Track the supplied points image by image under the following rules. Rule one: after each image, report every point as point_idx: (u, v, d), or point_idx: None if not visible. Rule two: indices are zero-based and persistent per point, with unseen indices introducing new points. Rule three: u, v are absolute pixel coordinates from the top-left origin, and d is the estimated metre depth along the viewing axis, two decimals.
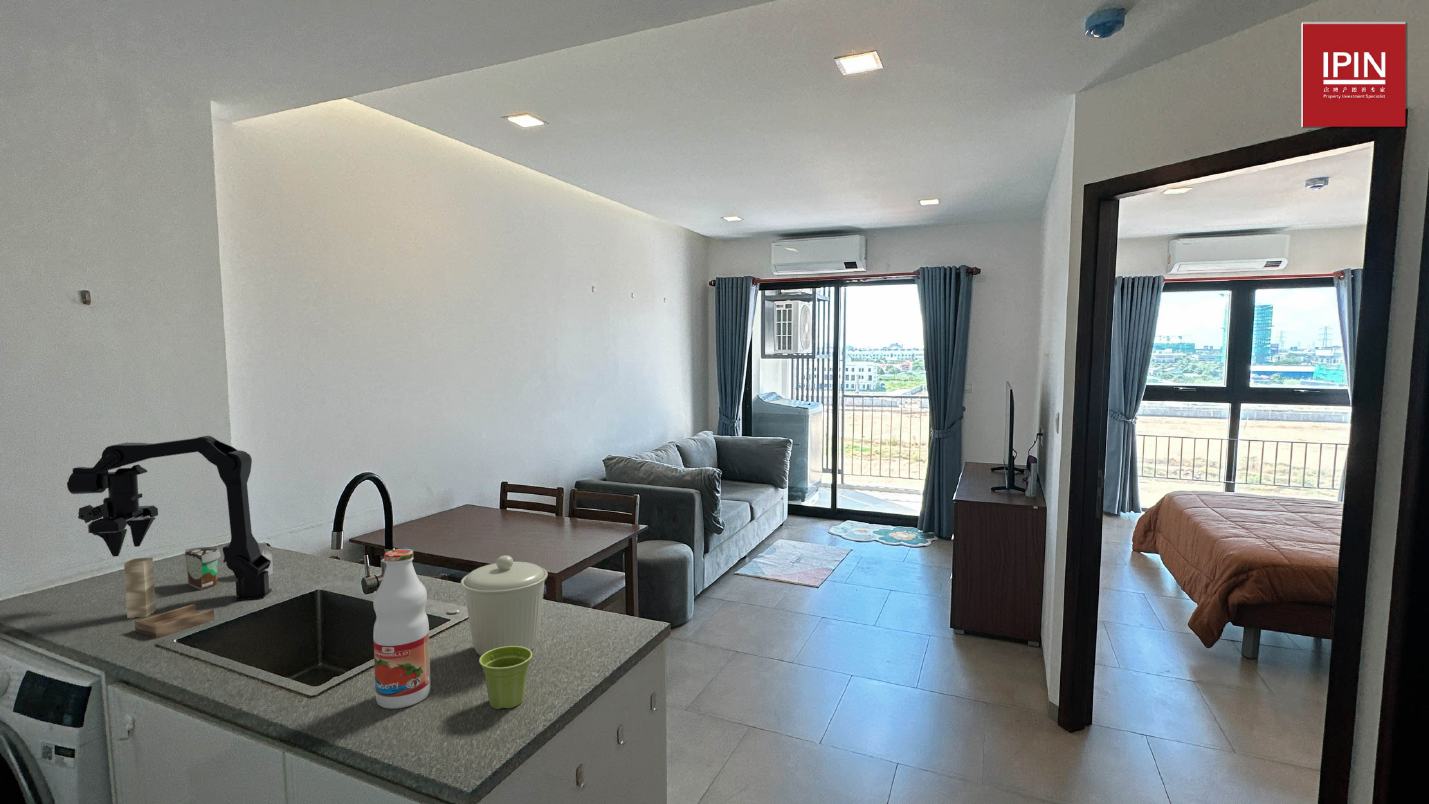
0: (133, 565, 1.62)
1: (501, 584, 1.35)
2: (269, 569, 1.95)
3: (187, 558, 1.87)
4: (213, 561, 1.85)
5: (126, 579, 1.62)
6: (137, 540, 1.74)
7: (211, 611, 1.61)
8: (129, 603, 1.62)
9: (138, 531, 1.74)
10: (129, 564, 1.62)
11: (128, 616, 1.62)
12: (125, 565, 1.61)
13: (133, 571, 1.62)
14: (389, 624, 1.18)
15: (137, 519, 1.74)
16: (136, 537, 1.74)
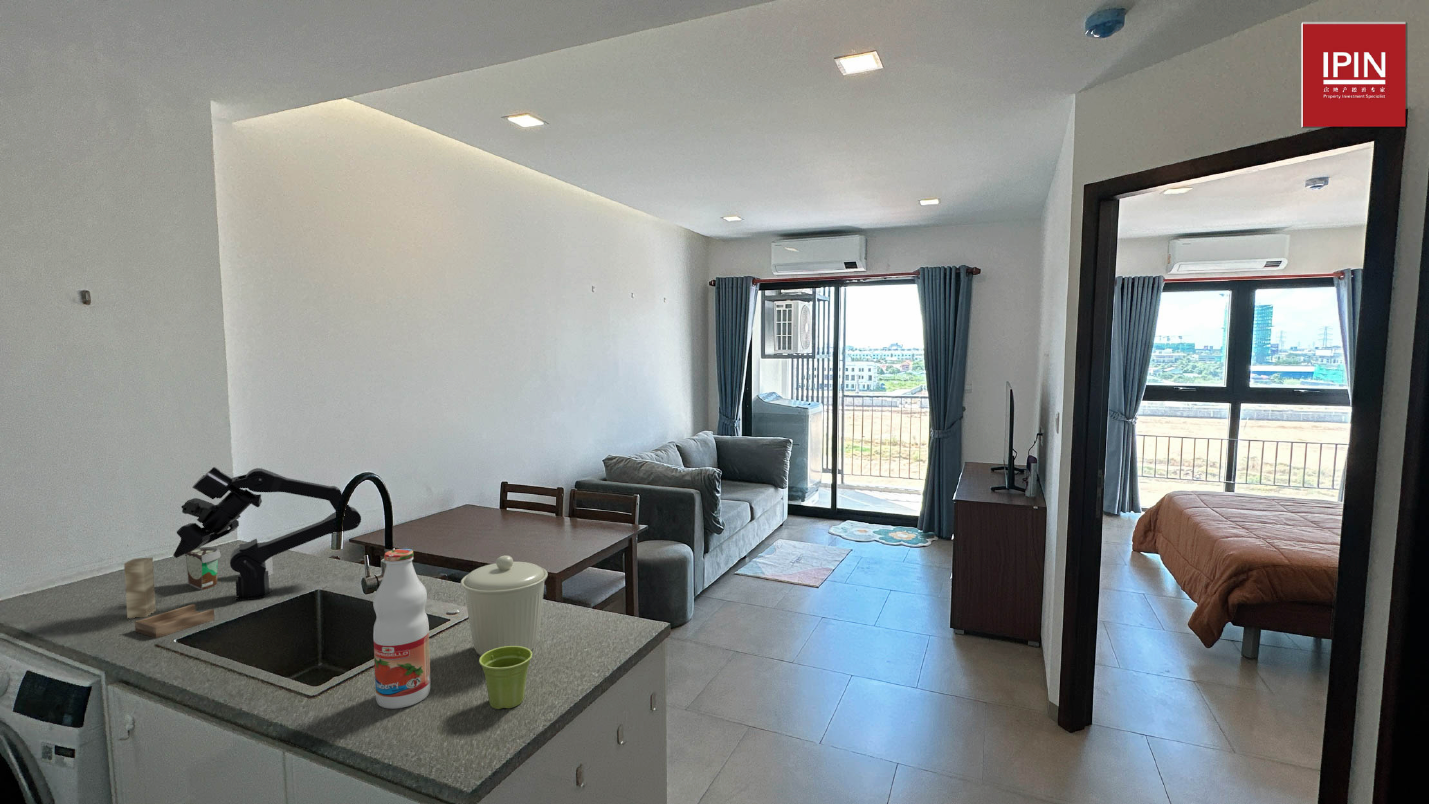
0: (133, 565, 1.62)
1: (501, 584, 1.35)
2: (269, 569, 1.95)
3: (187, 558, 1.87)
4: (213, 561, 1.85)
5: (126, 579, 1.62)
6: None
7: (211, 611, 1.61)
8: (129, 603, 1.62)
9: None
10: (129, 564, 1.62)
11: (128, 616, 1.62)
12: (125, 565, 1.61)
13: (133, 571, 1.62)
14: (389, 624, 1.18)
15: None
16: None
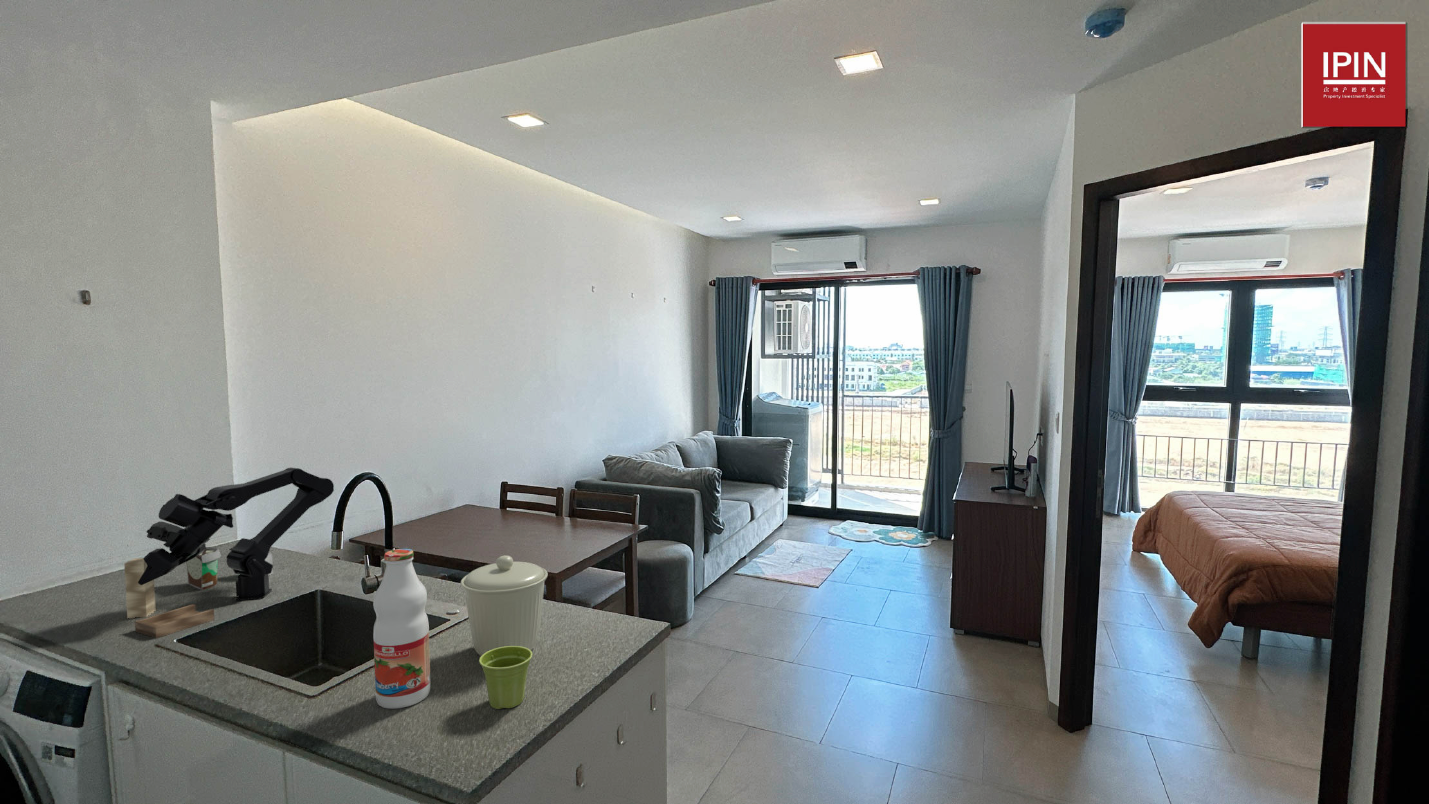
0: (133, 565, 1.62)
1: (501, 584, 1.35)
2: None
3: None
4: (213, 561, 1.85)
5: (126, 579, 1.62)
6: None
7: (211, 611, 1.61)
8: (129, 603, 1.62)
9: None
10: (129, 564, 1.62)
11: (128, 616, 1.62)
12: (125, 565, 1.61)
13: (133, 571, 1.62)
14: (389, 624, 1.18)
15: None
16: None
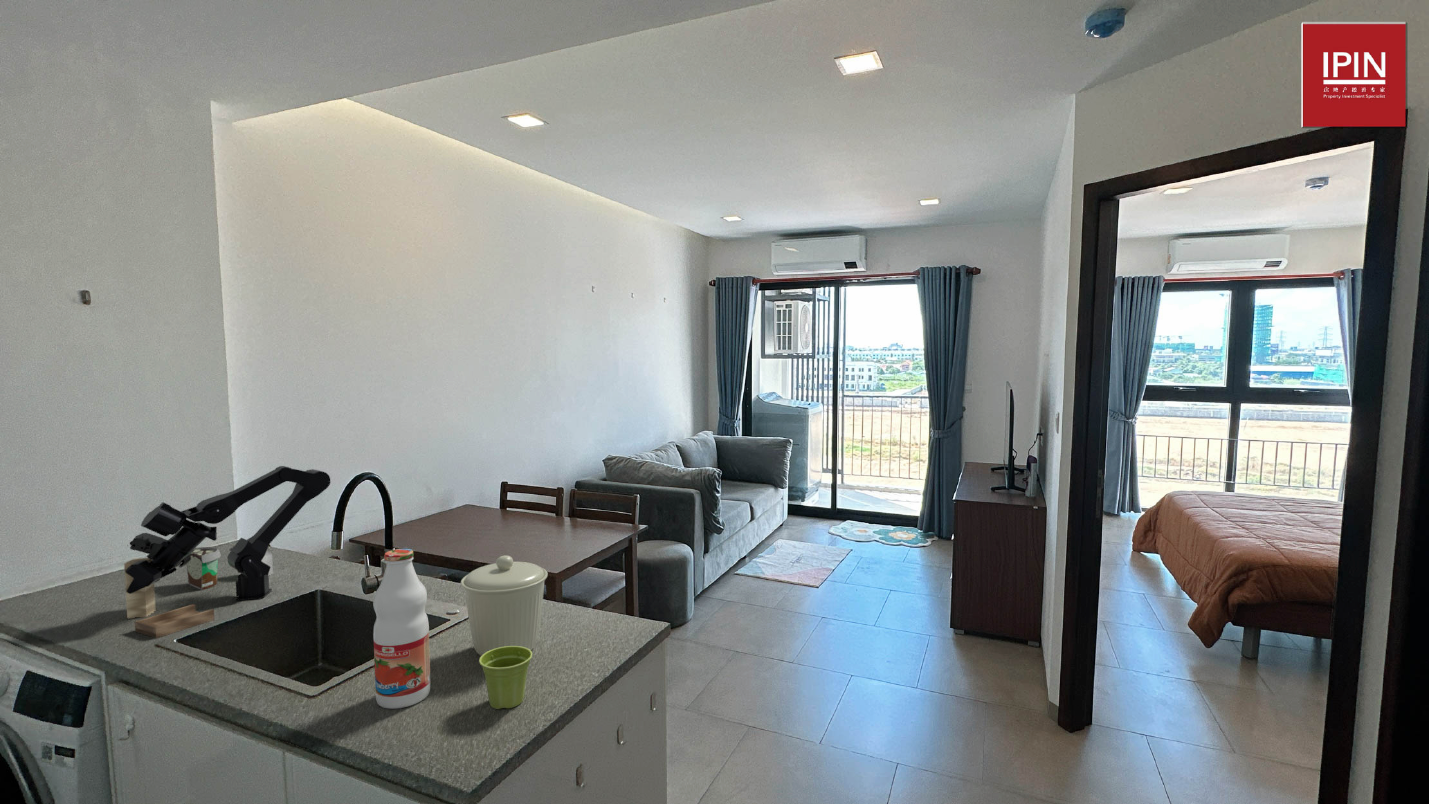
0: None
1: (501, 584, 1.35)
2: None
3: None
4: (213, 561, 1.85)
5: (126, 579, 1.62)
6: None
7: (211, 611, 1.61)
8: (129, 603, 1.62)
9: None
10: (129, 564, 1.62)
11: (128, 616, 1.62)
12: (125, 565, 1.61)
13: None
14: (389, 624, 1.18)
15: None
16: None
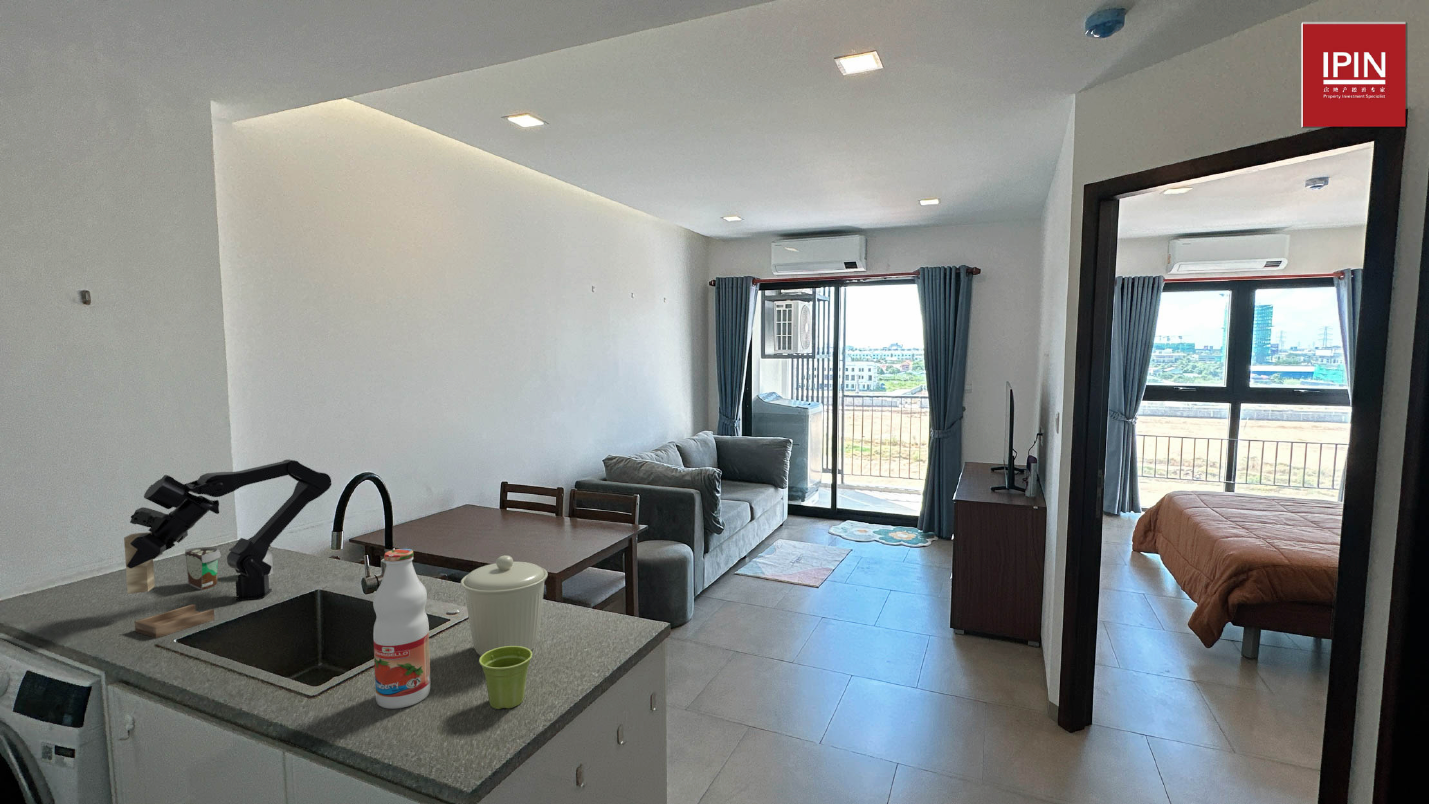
0: None
1: (501, 584, 1.35)
2: None
3: (187, 558, 1.87)
4: (213, 561, 1.85)
5: (126, 554, 1.60)
6: None
7: (211, 611, 1.61)
8: (129, 578, 1.60)
9: None
10: (129, 538, 1.60)
11: (128, 591, 1.60)
12: (125, 539, 1.59)
13: None
14: (389, 624, 1.18)
15: None
16: None
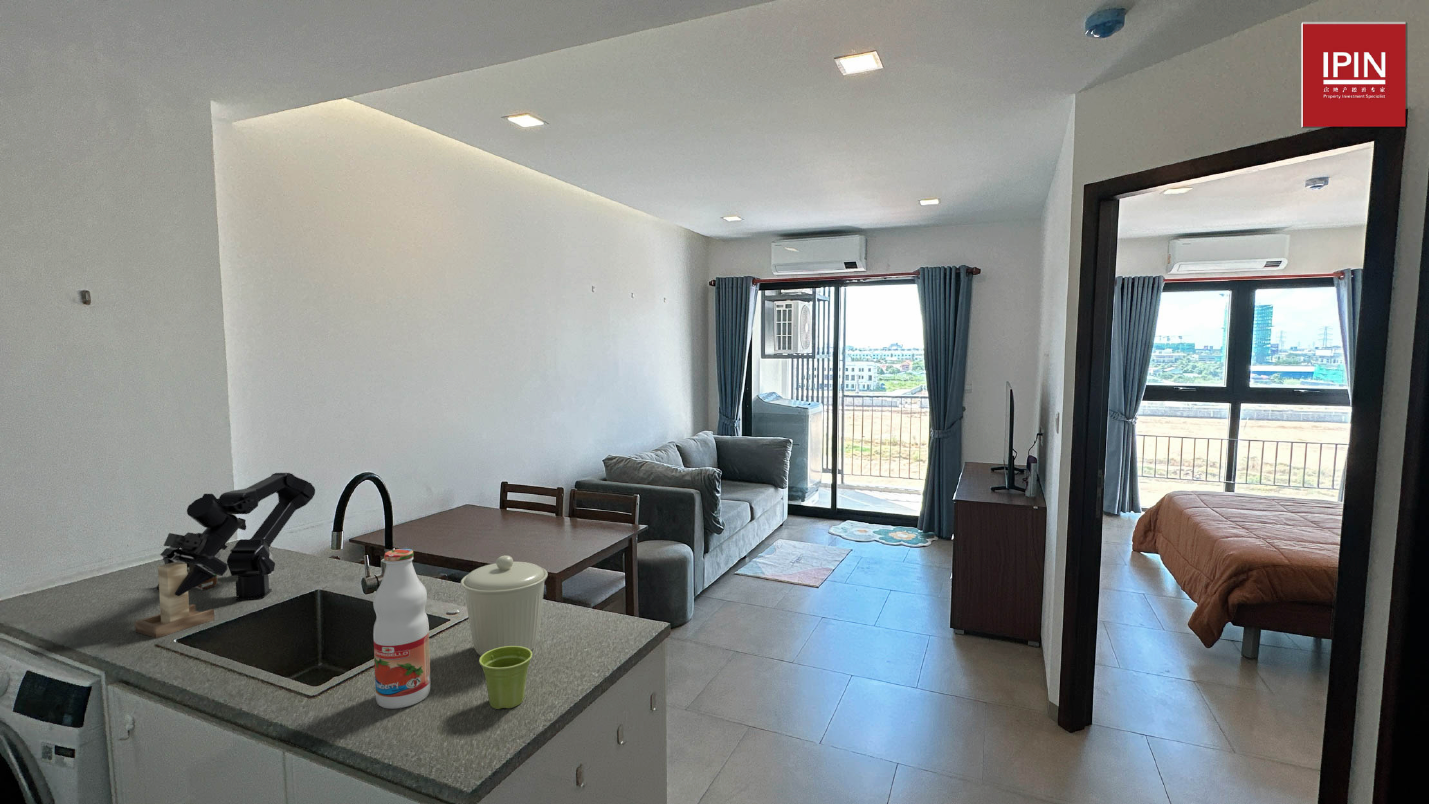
0: (176, 568, 1.56)
1: (501, 584, 1.35)
2: None
3: None
4: None
5: (169, 584, 1.55)
6: None
7: (211, 611, 1.61)
8: (172, 609, 1.55)
9: None
10: (172, 568, 1.55)
11: None
12: (168, 570, 1.54)
13: (176, 575, 1.56)
14: (389, 624, 1.18)
15: None
16: None
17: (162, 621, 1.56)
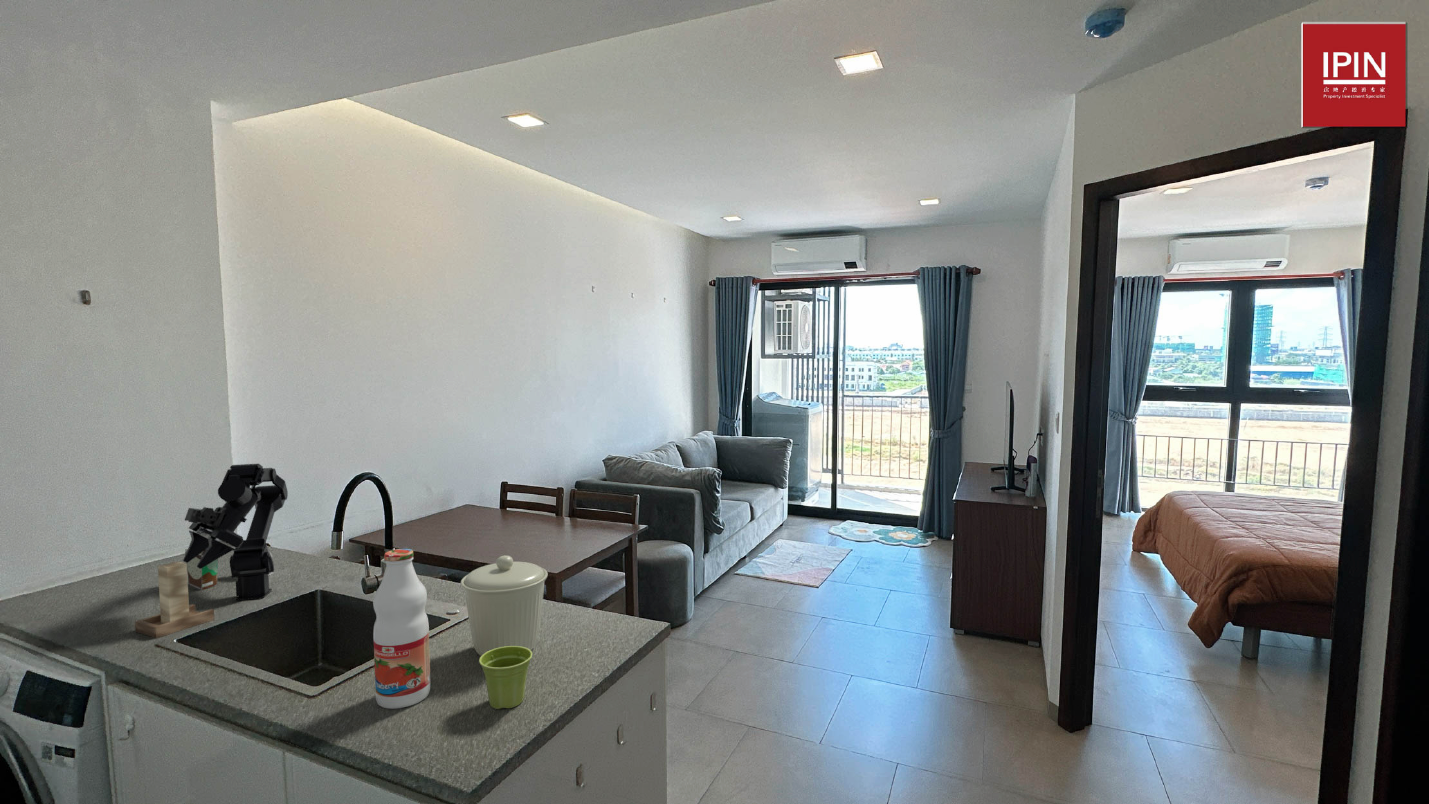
0: (176, 568, 1.56)
1: (501, 584, 1.35)
2: None
3: None
4: (213, 561, 1.85)
5: (169, 584, 1.55)
6: (191, 556, 1.66)
7: (211, 611, 1.61)
8: (172, 609, 1.55)
9: (197, 548, 1.67)
10: (172, 568, 1.55)
11: None
12: (168, 570, 1.54)
13: (176, 575, 1.56)
14: (389, 624, 1.18)
15: (204, 536, 1.69)
16: (192, 553, 1.66)
17: (162, 621, 1.56)
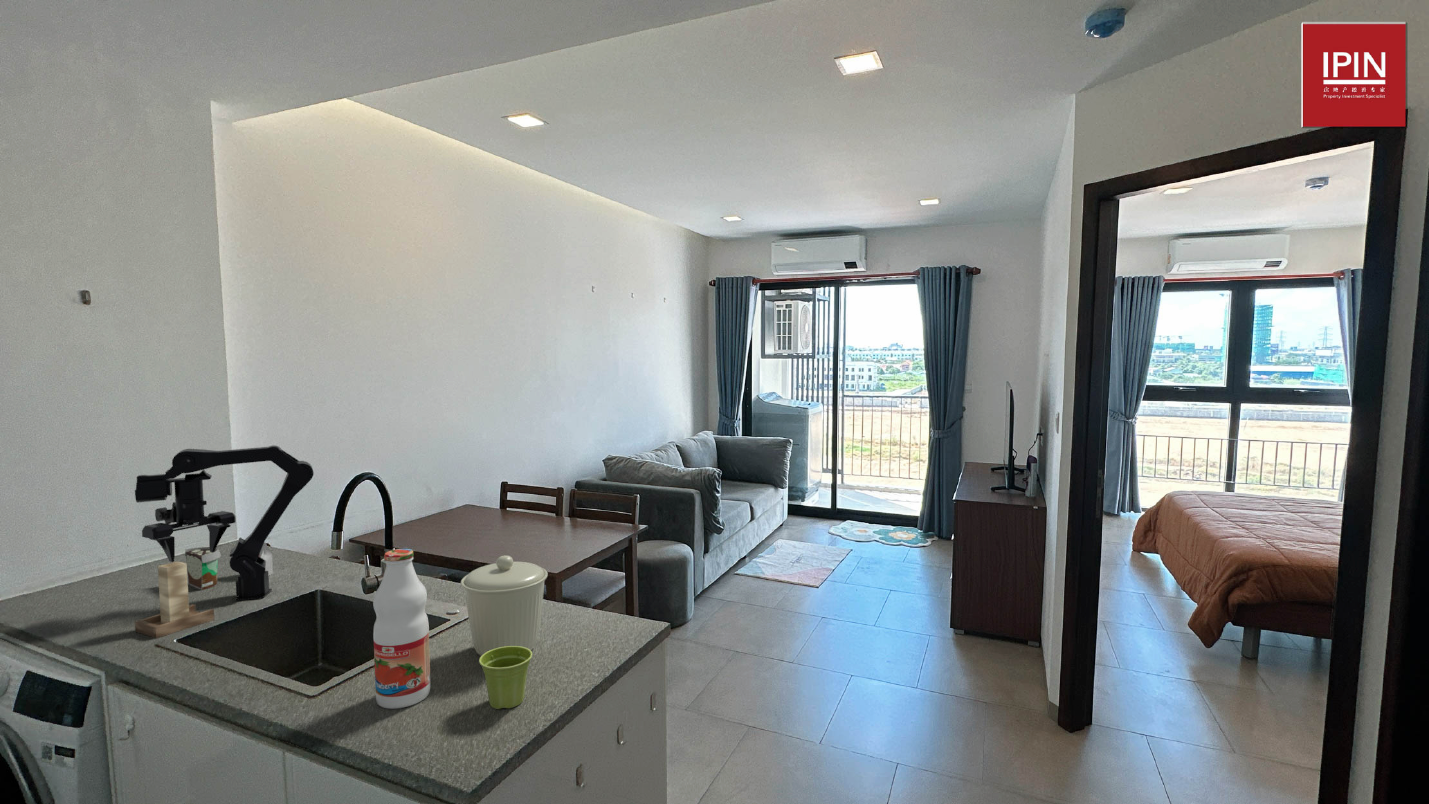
0: (176, 568, 1.56)
1: (501, 584, 1.35)
2: (269, 569, 1.95)
3: (187, 558, 1.87)
4: (213, 561, 1.85)
5: (169, 584, 1.55)
6: (211, 546, 1.74)
7: (211, 611, 1.61)
8: (172, 609, 1.55)
9: (213, 537, 1.74)
10: (172, 568, 1.55)
11: None
12: (168, 570, 1.54)
13: (176, 575, 1.56)
14: (389, 624, 1.18)
15: (214, 525, 1.74)
16: (211, 543, 1.74)
17: (162, 621, 1.56)
